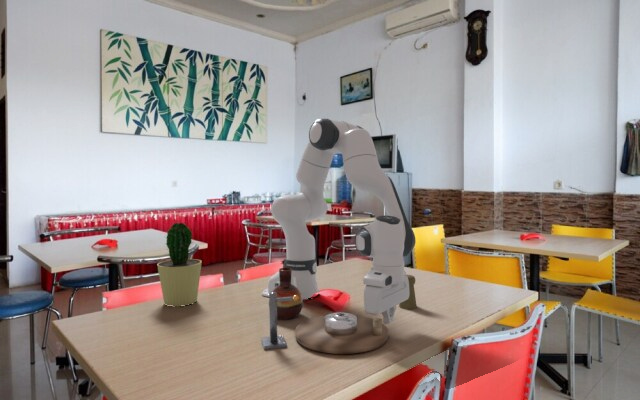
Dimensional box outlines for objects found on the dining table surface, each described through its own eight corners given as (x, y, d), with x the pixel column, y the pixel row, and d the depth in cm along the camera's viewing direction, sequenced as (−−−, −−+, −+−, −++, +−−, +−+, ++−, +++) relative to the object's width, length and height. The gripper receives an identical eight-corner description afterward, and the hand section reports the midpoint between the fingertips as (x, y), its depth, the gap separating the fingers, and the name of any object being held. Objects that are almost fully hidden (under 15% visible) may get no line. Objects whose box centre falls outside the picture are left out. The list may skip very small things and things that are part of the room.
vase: (309, 313, 135) (308, 267, 134) (290, 323, 125) (289, 274, 125) (282, 308, 141) (281, 264, 140) (261, 318, 131) (261, 270, 130)
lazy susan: (278, 344, 108) (278, 324, 108) (317, 314, 132) (317, 298, 132) (373, 360, 98) (373, 338, 97) (397, 325, 122) (397, 307, 121)
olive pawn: (417, 309, 138) (416, 277, 137) (398, 308, 139) (398, 276, 138) (416, 304, 144) (416, 273, 143) (399, 303, 145) (398, 273, 144)
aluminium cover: (320, 333, 112) (319, 317, 111) (331, 322, 120) (331, 308, 120) (351, 337, 108) (351, 321, 108) (360, 326, 117) (360, 311, 116)
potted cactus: (166, 312, 138) (164, 224, 137) (152, 302, 150) (150, 221, 149) (209, 303, 148) (207, 221, 147) (192, 294, 160) (191, 218, 159)
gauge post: (264, 349, 106) (263, 296, 105) (261, 341, 112) (260, 290, 111) (301, 345, 109) (300, 293, 108) (296, 337, 114) (296, 287, 114)
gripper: (395, 266, 125) (395, 310, 125) (359, 279, 109) (360, 330, 109) (414, 268, 121) (414, 314, 121) (380, 282, 105) (380, 335, 105)
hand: (388, 322), depth 115 cm, fingers closed
